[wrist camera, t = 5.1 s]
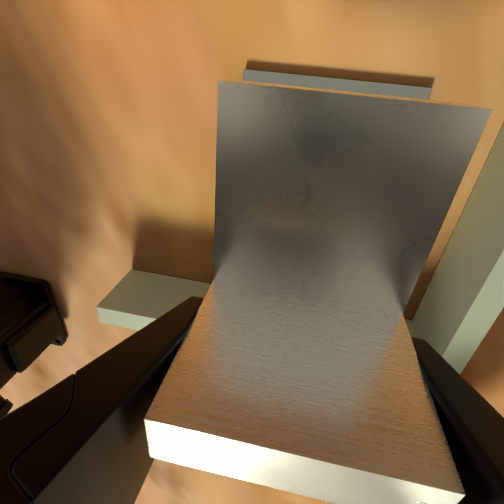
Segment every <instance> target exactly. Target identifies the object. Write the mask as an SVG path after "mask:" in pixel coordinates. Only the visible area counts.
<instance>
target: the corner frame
mask: <svg viewBox="0 0 504 504" xmlns="http://www.w3.org/2000/svg"><path fill="white" fill-rule="evenodd" d="M210 286H211V284H210V283H205V282H199V281H194V280H188V279H183V278H177V277H172V276H166V275H161V274H155V273H150V272H144V271H139V270H133V269H131V270H130V271H129V273H128V274H127V275H126V276H125V277H124V278H123V279H122V280H121V281H120V282H119V283H118V284H117V285H116V286H115V287H114V288H113V290H112V291H111V292H110V293H109V294H108V295H107V296H106V297H105V298H104V299H103V300H102V301H101V302H100V303H99V304H98V305H97V306H96V309H97V313H98V317H99V322H100V323H105V324H110V325H115V326H120V327H125V328H129V329H134V330H140V329H142V328H143V327H145V326H147V325H148V324H150V323H151V322H153V321H154V320H156V319H157V318H159V317H160V316H162V315H163V314H165V313H166V312H168V311H169V310H171V309H172V308H174V307H175V306H177V305H178V304H180V303H182V302H183V301H185V300H186V299H188V298H189V297H191V296H197V297H203V298H205V296H206V294H207V292H208V290H209V288H210ZM503 307H504V124H503V126H502V128H501V130H500V132H499V135H498V137H497V139H496V141H495V143H494V145H493V148H492V150H491V152H490V154H489V156H488V158H487V160H486V163H485V165H484V167H483V169H482V171H481V173H480V175H479V178H478V180H477V182H476V184H475V186H474V188H473V191H472V193H471V195H470V197H469V199H468V201H467V203H466V206H465V208H464V210H463V212H462V214H461V216H460V219H459V221H458V223H457V225H456V227H455V229H454V231H453V234H452V236H451V238H450V240H449V242H448V244H447V246H446V249H445V251H444V253H443V255H442V257H441V259H440V262H439V264H438V266H437V268H436V270H435V272H434V274H433V277H432V279H431V281H430V283H429V285H428V287H427V289H426V292H425V294H424V296H423V298H422V300H421V302H420V305H419V307H418V309H417V311H416V313H415V315H414V317H413V320H408V319H405V322H406V325H407V328H408V330H409V333H410V336H412V337H417V338H422V339H424V340H425V341H427V342H428V343H429V344H430V345H431V346H432V347H433V348H434V349H435V350H436V351H437V352H438V353H439V354H440V355H441V356H442V357H443V358H444V359H445V360H446V361H447V362H448V363H449V364H450V365H451V366H452V367H453V368H454V369H455V370H456V371H457V372H458V373H459V374H461V372H462V371H463V369H464V368H465V366H466V365H467V363H468V361H469V360H470V358H471V357H472V355H473V354H474V352H475V351H476V349H477V348H478V346H479V345H480V343H481V341H482V340H483V338H484V337H485V335H486V334H487V332H488V331H489V329H490V328H491V326H492V324H493V323H494V321H495V320H496V318H497V317H498V315H499V314H500V312H501V311H502V309H503Z"/></svg>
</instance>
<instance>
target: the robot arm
mask: <svg viewBox="0 0 504 504" xmlns="http://www.w3.org/2000/svg"><path fill="white" fill-rule="evenodd" d="M203 300H204V298H203V297H197V296H191V297H189V298H188V299H186V300H185V301H183V302H182V303H180V304H178V305H177V306H175V307H174V308H172V309H171V310H169V311H168V312H166V313H165V314H163V315H162V316H160V317H159V318H157V319H156V320H154V321H153V322H151V323H150V324H148V325H147V326H145V327H143V328H142V329H140V330H139V331H137V332H136V333H134V334H133V335H131V336H130V337H128V338H127V339H125V340H124V341H122V342H121V343H119V344H118V345H116V346H115V347H113V348H111V349H110V350H108V351H107V352H105V353H104V354H102V355H101V356H99V357H98V358H96V359H95V360H93V361H92V362H90V363H89V364H87V365H86V366H84V367H83V368H81V369H79V370H78V371H77V372H76V374H72V375H70V376H69V377H67V378H66V379H64V380H63V381H61V382H59V383H58V384H56V385H55V386H53V387H52V388H50V389H48V390H47V391H45V392H44V393H42V394H41V395H39V396H37V397H36V398H34V399H33V400H31V401H29V402H28V403H26V404H24V405H23V406H21V407H19V408H17V409H16V410H14V411H12V412H10V413H9V414H7V413H8V412H9V410H10V409H11V408H12V406H13V403H11V402H10V401H9V400H8V399H6V400H5V399H4V398H3V397H2V396H1V395H0V504H134V503H135V500H136V498H137V496H138V494H139V492H140V489H141V487H142V485H143V483H144V480H145V478H146V476H147V474H148V472H149V469H150V467H151V465H152V463H153V461H154V458H152V457H150V454H149V448H148V441H147V435H146V429H145V423H144V418H145V416H146V414H147V412H148V410H149V408H150V406H151V404H152V402H153V400H154V398H155V396H156V394H157V392H158V390H159V388H160V386H161V384H162V382H163V380H164V378H165V376H166V374H167V372H168V370H169V368H170V366H171V364H172V362H173V360H174V358H175V356H176V354H177V352H178V350H179V348H180V346H181V344H182V342H183V340H184V338H185V336H186V335H187V333H188V331H189V329H190V328H191V326H192V324H193V322H194V320H195V318H196V315H197V313H198V310H199V308H200V306H201V304H202V302H203ZM411 339H412V342H413V345H414V348H415V351H416V355H417V359H418V362H419V365H420V368H421V371H422V374H423V376H424V379H425V381H426V383H427V386H428V388H429V391H430V394H431V397H432V400H433V403H434V405H435V408H436V411H437V414H438V417H439V420H440V423H441V426H442V429H443V431H444V434H445V437H446V440H447V443H448V446H449V449H450V452H451V455H452V457H453V460H454V463H455V466H456V469H457V472H458V475H459V478H460V480H461V483H462V486H463V489H464V492H465V496H464V497H463V498H462V499H461V500H460V502H459V503H458V504H504V418H503V417H502V416H501V415H500V414H499V413H498V412H497V411H496V410H495V409H494V408H493V407H492V406H491V405H490V404H489V403H488V402H487V401H486V400H485V399H484V398H483V397H482V396H481V395H480V394H479V393H478V392H477V391H476V390H475V389H474V388H473V387H472V386H471V385H470V384H469V383H468V382H467V381H466V380H465V379H464V378H463V377H462V376H461V375H460V374H459V373H458V372H457V371H456V370H455V369H454V368H453V367H452V366H451V365H450V364H449V363H448V362H447V361H446V360H445V359H444V358H443V357H442V356H441V355H440V354H439V353H438V352H437V351H436V350H435V349H434V348H433V347H432V346H431V345H430V344H429V343H428V342H427V341H425V340H424V339H422V338H417V337H412V336H411ZM66 341H67V340H66V336H65V333H64V330H63V326H62V323H61V320H60V317H59V314H58V310H57V307H56V304H55V301H54V297H53V294H52V291H51V288H50V285H49V284H48V283H47V282H46V281H43V280H39V279H34V278H29V277H24V276H18V275H13V274H8V273H3V272H0V389H1V388H2V387H3V386H4V385H5V384H6V383H7V382H8V381H9V380H10V379H11V378H12V377H13V376H14V375H15V374H16V373H17V372H18V373H21V372H23V371H24V370H25V369H26V368H27V367H28V366H29V365H30V364H31V363H32V362H33V361H34V360H35V359H36V358H37V357H38V356H39V355H40V354H41V353H42V352H43V351H44V350H45V349H46V348H47V347H48V346H49V345H50V344H54V345H58V346H62V345H63V344H64V343H65V342H66Z"/></svg>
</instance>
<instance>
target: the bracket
mask: <svg viewBox="0 0 504 504" xmlns="http://www.w3.org/2000/svg"><path fill="white" fill-rule="evenodd" d="M492 110H493V109H489V108H484V107H480V106H475V105H471V104H463V103H454V102H444V101H435V100H425V99H415V98H406V97H396V96H386V95H377V94H367V93H358V92H348V91H338V90H329V89H319V88H310V87H300V86H290V85H281V84H271V83H262V82H252V81H242V80H233V79H228V80H219V81H218V109H217V149H216V189H215V230H214V270H213V282H212V284H211V286H210V288H209V290H208V292H207V294H206V296H205V298H204V300H203V302H202V304H201V306H200V308H199V310H198V313H197V315H196V318H195V320H194V322H193V324H192V326H191V328H190V329H189V331H188V333H187V335H186V336H185V338H184V340H183V342H182V344H181V346H180V348H179V350H178V352H177V354H176V356H175V358H174V360H173V362H172V364H171V366H170V368H169V370H168V372H167V374H166V376H165V378H164V380H163V382H162V384H161V386H160V388H159V390H158V392H157V394H156V396H155V398H154V400H153V402H152V404H151V406H150V408H149V410H148V412H147V414H146V416H145V418H144V423H145V429H146V435H147V441H148V448H149V454H150V457H152V458H156V459H160V460H164V461H168V462H172V463H176V464H180V465H184V466H188V467H192V468H196V469H200V470H204V471H208V472H212V473H216V474H220V475H224V476H228V477H232V478H236V479H240V480H244V481H248V482H252V483H256V484H260V485H264V486H268V487H272V488H276V489H280V490H284V491H288V492H292V493H296V494H300V495H304V496H308V497H312V498H316V499H320V500H324V501H328V502H332V503H336V504H458V503H459V502H460V500H461V499H462V498H463V497H464V496H465V492H464V489H463V486H462V483H461V480H460V478H459V475H458V472H457V469H456V466H455V463H454V460H453V457H452V455H451V452H450V449H449V446H448V443H447V440H446V437H445V434H444V431H443V429H442V426H441V423H440V420H439V417H438V414H437V411H436V408H435V405H434V403H433V400H432V397H431V394H430V391H429V388H428V386H427V383H426V381H425V379H424V376H423V374H422V371H421V368H420V365H419V362H418V359H417V355H416V351H415V348H414V345H413V342H412V339H411V336H410V333H409V330H408V328H407V325H406V322H405V319H404V316H403V313H404V310H405V308H406V306H407V304H408V301H409V299H410V297H411V294H412V292H413V290H414V288H415V285H416V283H417V281H418V278H419V276H420V274H421V272H422V269H423V267H424V265H425V263H426V260H427V258H428V256H429V253H430V251H431V249H432V247H433V244H434V242H435V240H436V237H437V235H438V233H439V231H440V228H441V226H442V224H443V221H444V219H445V217H446V215H447V212H448V210H449V208H450V205H451V203H452V201H453V199H454V196H455V194H456V192H457V189H458V187H459V185H460V183H461V180H462V178H463V176H464V173H465V171H466V169H467V167H468V164H469V162H470V160H471V157H472V155H473V153H474V151H475V148H476V146H477V144H478V142H479V139H480V137H481V135H482V132H483V130H484V128H485V126H486V123H487V121H488V119H489V116H490V114H491V112H492Z"/></svg>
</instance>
